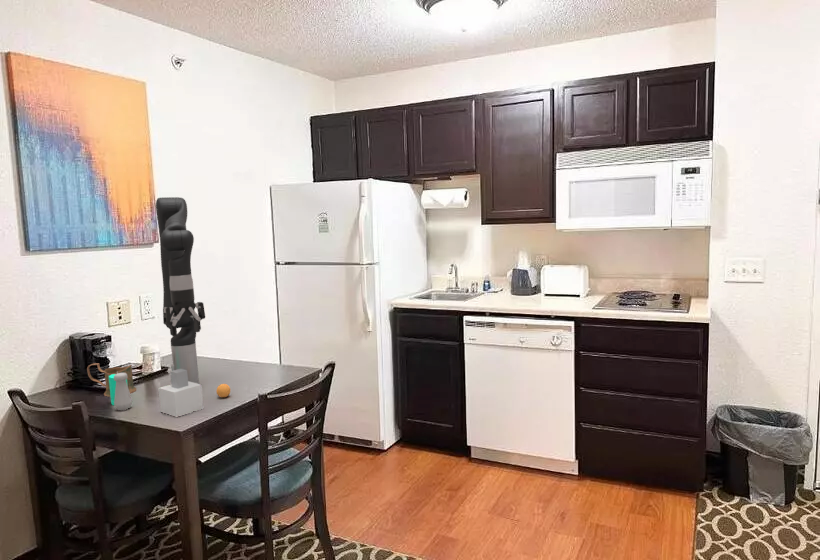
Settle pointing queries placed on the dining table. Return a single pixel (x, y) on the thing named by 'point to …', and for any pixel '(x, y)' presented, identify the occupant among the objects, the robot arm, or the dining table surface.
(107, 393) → the mug
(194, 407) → the white block with knob
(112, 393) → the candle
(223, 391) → the ball
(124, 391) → the salt shaker
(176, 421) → the dining table surface
